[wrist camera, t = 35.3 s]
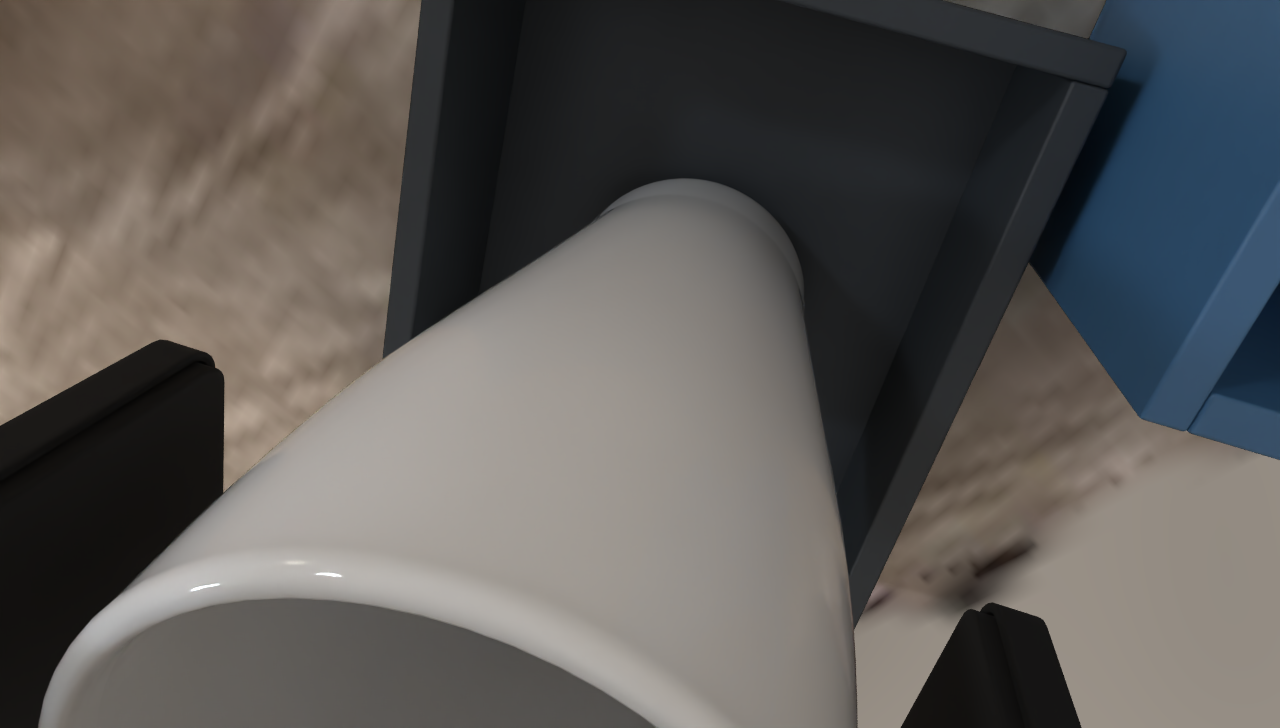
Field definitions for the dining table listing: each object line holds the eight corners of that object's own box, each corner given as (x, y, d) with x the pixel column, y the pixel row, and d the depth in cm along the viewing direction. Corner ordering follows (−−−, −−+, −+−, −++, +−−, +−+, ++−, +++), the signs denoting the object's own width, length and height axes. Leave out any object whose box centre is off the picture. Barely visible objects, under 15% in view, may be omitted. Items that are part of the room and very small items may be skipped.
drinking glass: (900, 306, 19) (1077, 1077, 6) (679, 460, 22) (450, 1219, 8) (703, 71, 18) (342, 350, 4) (495, 266, 21) (-111, 798, 7)
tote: (525, -109, 18) (434, -135, 14) (1056, 32, 17) (1130, 50, 13) (439, 448, 24) (360, 545, 20) (822, 571, 23) (822, 699, 19)
